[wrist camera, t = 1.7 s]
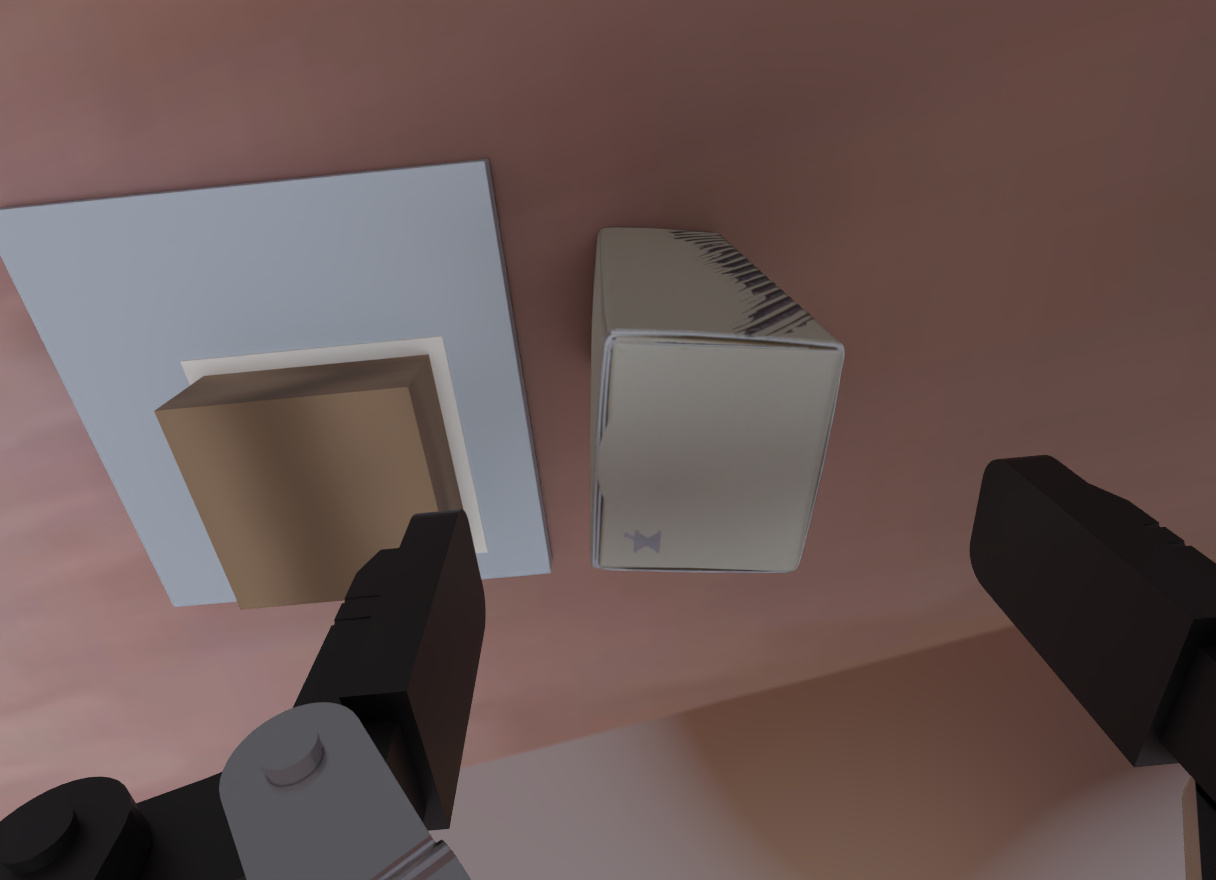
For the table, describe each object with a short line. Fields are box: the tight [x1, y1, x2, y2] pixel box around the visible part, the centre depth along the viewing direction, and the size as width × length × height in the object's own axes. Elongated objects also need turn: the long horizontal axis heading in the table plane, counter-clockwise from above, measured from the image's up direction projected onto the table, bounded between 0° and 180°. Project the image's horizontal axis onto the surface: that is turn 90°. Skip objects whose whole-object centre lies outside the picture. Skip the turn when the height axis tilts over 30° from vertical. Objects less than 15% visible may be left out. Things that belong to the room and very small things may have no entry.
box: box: [590, 227, 845, 573], centre depth 18 cm, size 5×4×13 cm
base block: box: [154, 354, 463, 609], centre depth 24 cm, size 8×8×3 cm
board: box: [0, 159, 552, 607], centre depth 25 cm, size 16×16×1 cm
